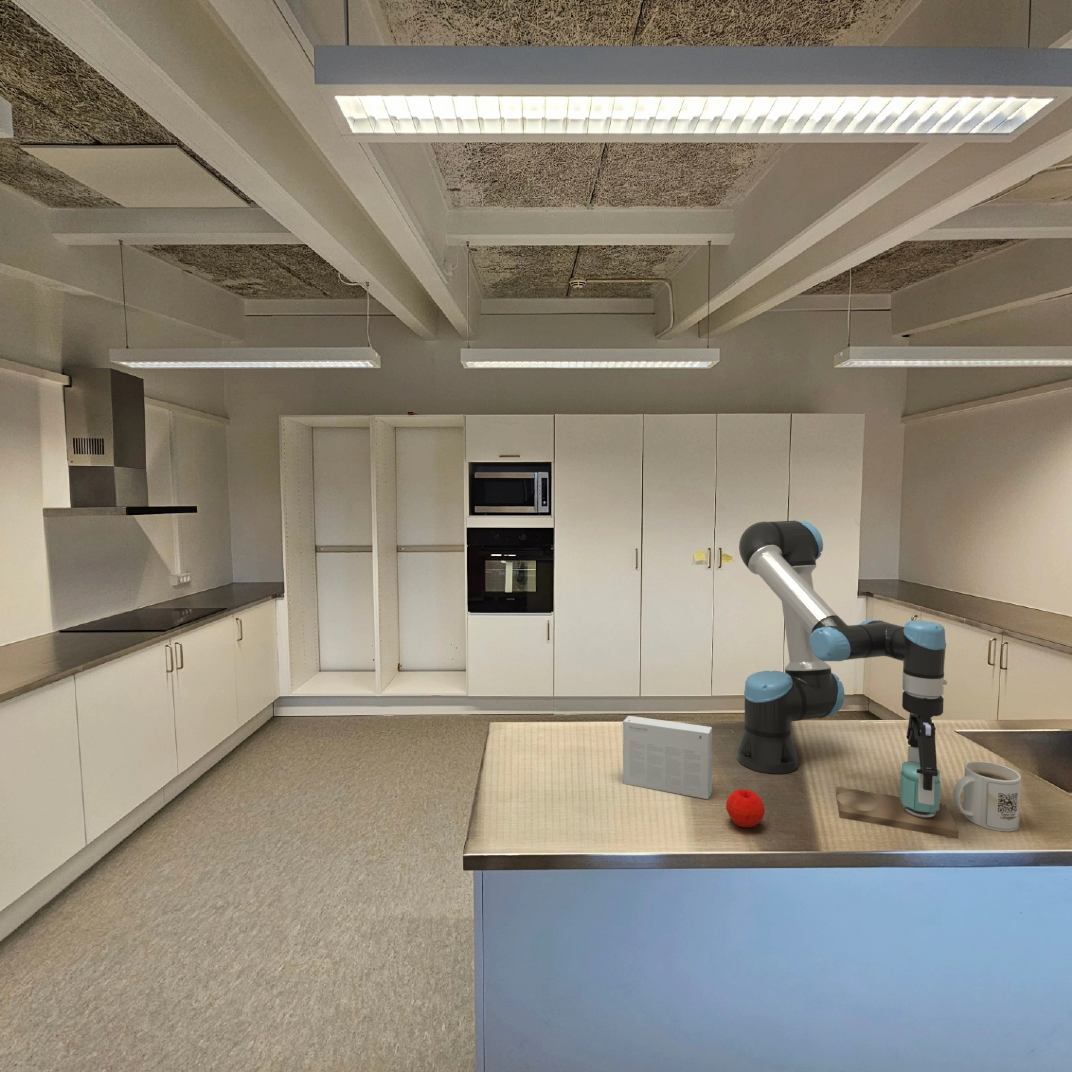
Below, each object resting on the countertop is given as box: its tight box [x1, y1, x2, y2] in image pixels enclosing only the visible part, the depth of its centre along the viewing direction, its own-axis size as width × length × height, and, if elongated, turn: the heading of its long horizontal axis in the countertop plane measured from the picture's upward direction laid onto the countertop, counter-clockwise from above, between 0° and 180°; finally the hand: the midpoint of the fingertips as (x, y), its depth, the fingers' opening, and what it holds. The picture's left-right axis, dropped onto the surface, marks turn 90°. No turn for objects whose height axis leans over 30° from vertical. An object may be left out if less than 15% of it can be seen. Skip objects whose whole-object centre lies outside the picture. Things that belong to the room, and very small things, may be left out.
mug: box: [952, 760, 1022, 833], centre depth 132 cm, size 10×12×11 cm
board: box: [835, 786, 959, 839], centre depth 135 cm, size 22×12×2 cm, turn 67°
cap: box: [899, 760, 941, 813], centre depth 133 cm, size 7×7×8 cm
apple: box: [725, 789, 766, 828], centre depth 131 cm, size 8×8×7 cm
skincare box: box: [622, 715, 713, 800], centre depth 148 cm, size 21×5×16 cm, turn 65°
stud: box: [903, 805, 936, 819], centre depth 133 cm, size 6×6×8 cm
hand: (919, 788), depth 133 cm, fingers open, 13 cm apart
